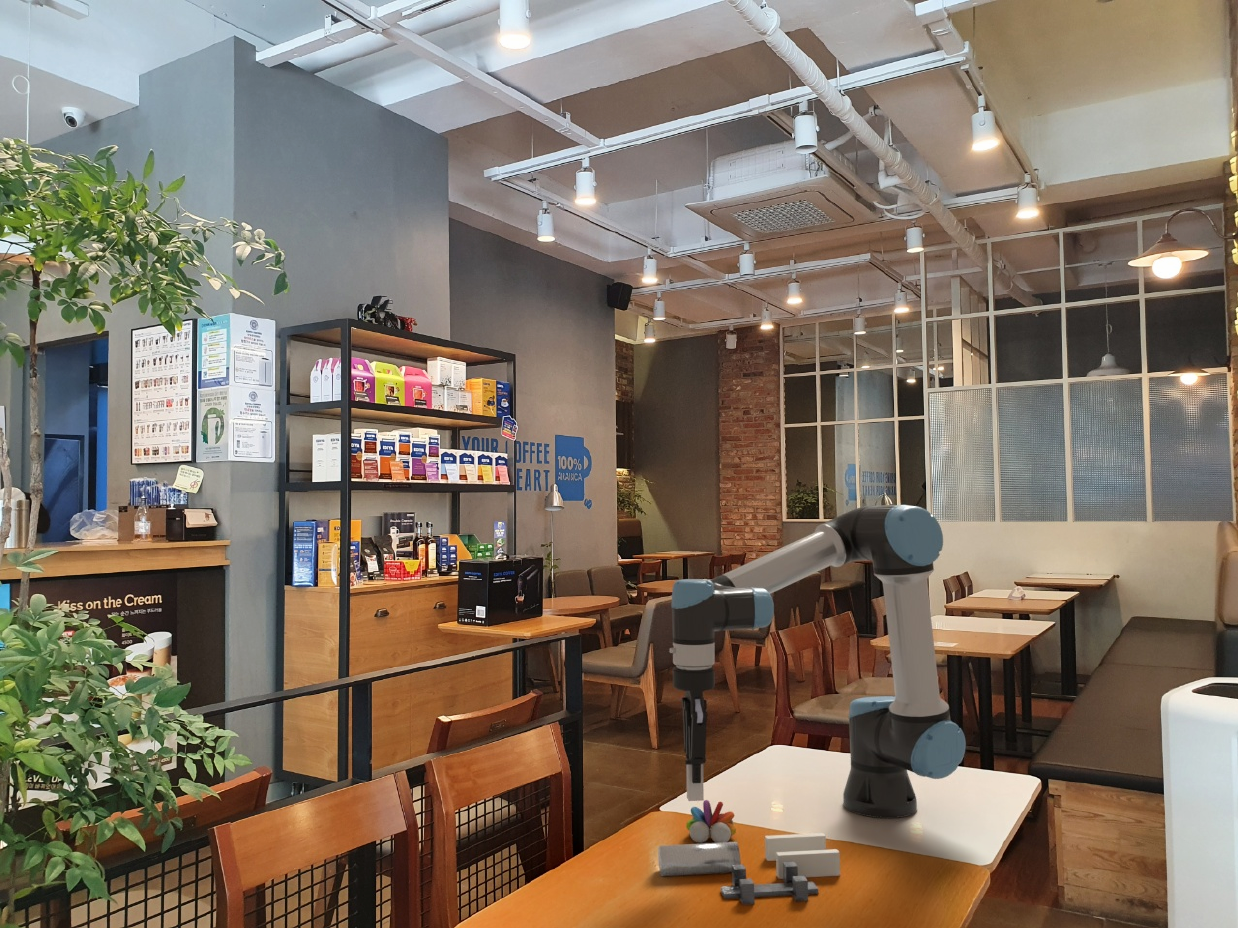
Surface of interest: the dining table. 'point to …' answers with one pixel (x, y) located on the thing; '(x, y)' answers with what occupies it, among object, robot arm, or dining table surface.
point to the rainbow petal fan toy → (711, 824)
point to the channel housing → (803, 854)
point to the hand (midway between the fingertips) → (695, 798)
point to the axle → (698, 858)
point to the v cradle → (768, 885)
